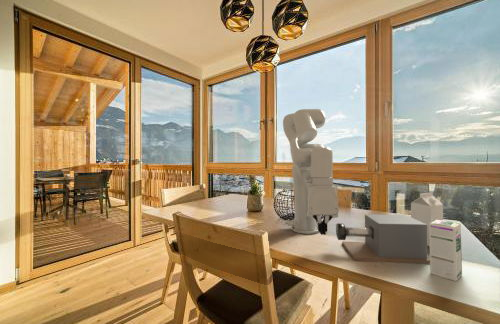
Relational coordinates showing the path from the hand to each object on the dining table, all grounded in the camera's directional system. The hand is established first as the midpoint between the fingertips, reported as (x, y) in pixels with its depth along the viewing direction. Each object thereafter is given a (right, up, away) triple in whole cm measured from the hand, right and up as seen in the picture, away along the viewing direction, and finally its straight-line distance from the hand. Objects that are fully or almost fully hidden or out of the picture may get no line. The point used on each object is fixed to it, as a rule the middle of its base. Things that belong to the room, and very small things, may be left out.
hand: (322, 233), depth 79 cm
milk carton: (+42, -6, +6) cm, 43 cm away
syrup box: (+29, -6, -17) cm, 34 cm away
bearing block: (+20, -6, -2) cm, 21 cm away
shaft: (+14, -2, -2) cm, 15 cm away
